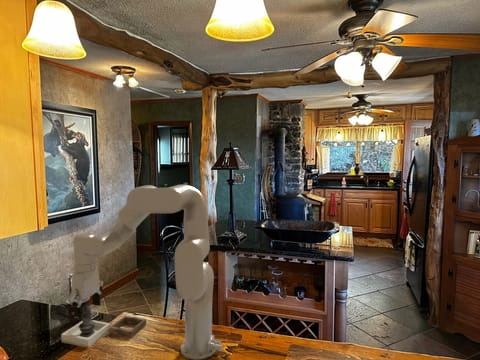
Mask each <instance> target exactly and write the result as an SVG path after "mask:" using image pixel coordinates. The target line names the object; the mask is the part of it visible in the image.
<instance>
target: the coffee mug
mask: <svg viewBox="0 0 480 360" xmlns="http://www.w3.org/2000/svg"><path fill="white" fill-rule="evenodd" d="M78 298H80V297H78ZM90 298H91V296H90V297H88V298H86V299H84V300H83V301H82V303H81V305H80V306H82V315H83V307H84V306H86V304H88V305H89V306H90V300H91V299H90ZM78 302H79V300H77V303H78ZM61 306H63V307H65V308H66V311H67V314H64V313H61V312H60V311H59V310H58V309H59V307H61ZM55 308H56V310H55V311H56V313H57V314H59V315H60V316H62V317H65V318H67V319H68V322H69V326H70V327H71V328H72V327H74V326H75V325H77V324H78V323H80V322H81V321H83V317H81V318H80V317H74V309H73V307H72V306H71V305H70V303H69V302H68V298H67V299H66V304H65V303H61V304H58V305H57V306H56V307H55Z"/></svg>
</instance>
